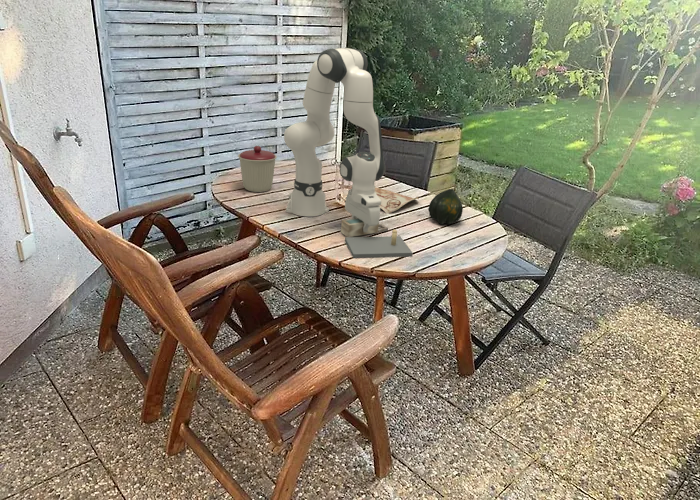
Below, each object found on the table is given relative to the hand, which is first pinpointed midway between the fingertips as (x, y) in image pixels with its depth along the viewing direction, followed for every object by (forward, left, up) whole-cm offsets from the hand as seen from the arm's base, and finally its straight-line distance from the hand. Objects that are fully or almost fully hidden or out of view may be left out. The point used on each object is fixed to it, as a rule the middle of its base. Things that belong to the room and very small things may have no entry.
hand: (360, 228), depth 210 cm
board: (+15, +4, -2) cm, 16 cm away
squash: (-13, +41, -3) cm, 43 cm away
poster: (-42, +21, -3) cm, 47 cm away
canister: (-60, -37, -2) cm, 71 cm away
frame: (-1, +2, -2) cm, 3 cm away
